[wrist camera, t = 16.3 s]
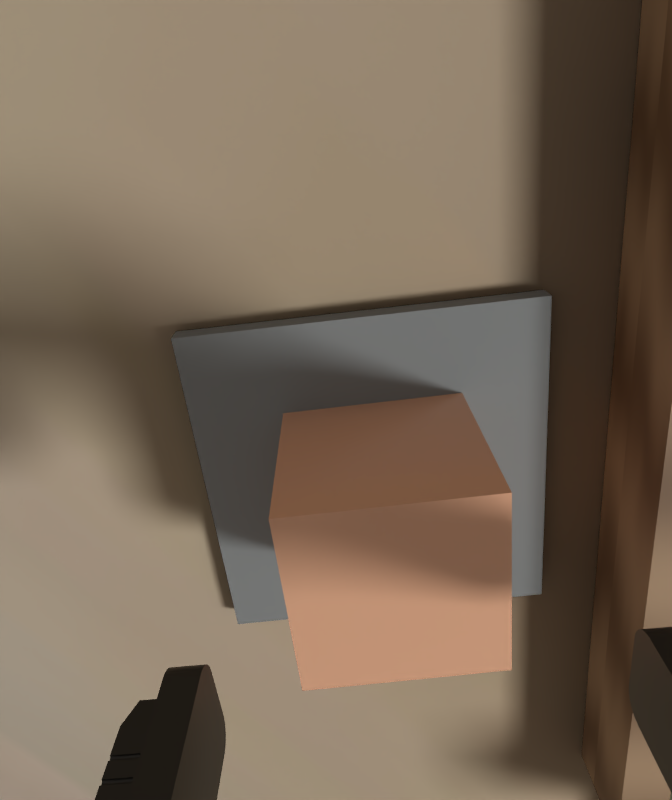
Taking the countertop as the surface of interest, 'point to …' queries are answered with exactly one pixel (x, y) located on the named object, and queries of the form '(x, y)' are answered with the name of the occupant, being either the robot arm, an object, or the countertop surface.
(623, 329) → the lane board
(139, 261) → the countertop surface
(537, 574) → the pad
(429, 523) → the cube
